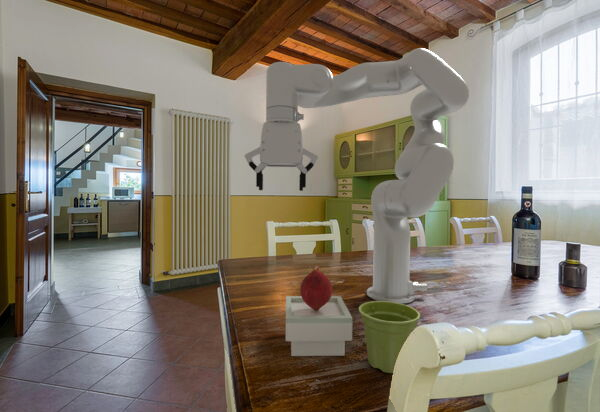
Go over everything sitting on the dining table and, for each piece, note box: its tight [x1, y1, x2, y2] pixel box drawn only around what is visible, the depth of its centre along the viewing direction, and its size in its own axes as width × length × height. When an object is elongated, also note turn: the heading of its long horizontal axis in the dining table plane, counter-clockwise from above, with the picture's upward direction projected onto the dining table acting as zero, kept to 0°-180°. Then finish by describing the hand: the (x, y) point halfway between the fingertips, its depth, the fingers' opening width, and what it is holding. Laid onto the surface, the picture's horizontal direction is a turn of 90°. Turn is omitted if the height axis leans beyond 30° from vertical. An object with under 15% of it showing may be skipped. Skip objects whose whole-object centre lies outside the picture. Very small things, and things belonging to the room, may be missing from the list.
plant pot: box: [358, 300, 421, 374], centre depth 48 cm, size 9×9×9 cm
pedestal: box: [285, 295, 353, 357], centre depth 55 cm, size 11×11×7 cm
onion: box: [299, 266, 333, 310], centre depth 55 cm, size 6×6×8 cm
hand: (281, 190), depth 72 cm, fingers open, 9 cm apart
